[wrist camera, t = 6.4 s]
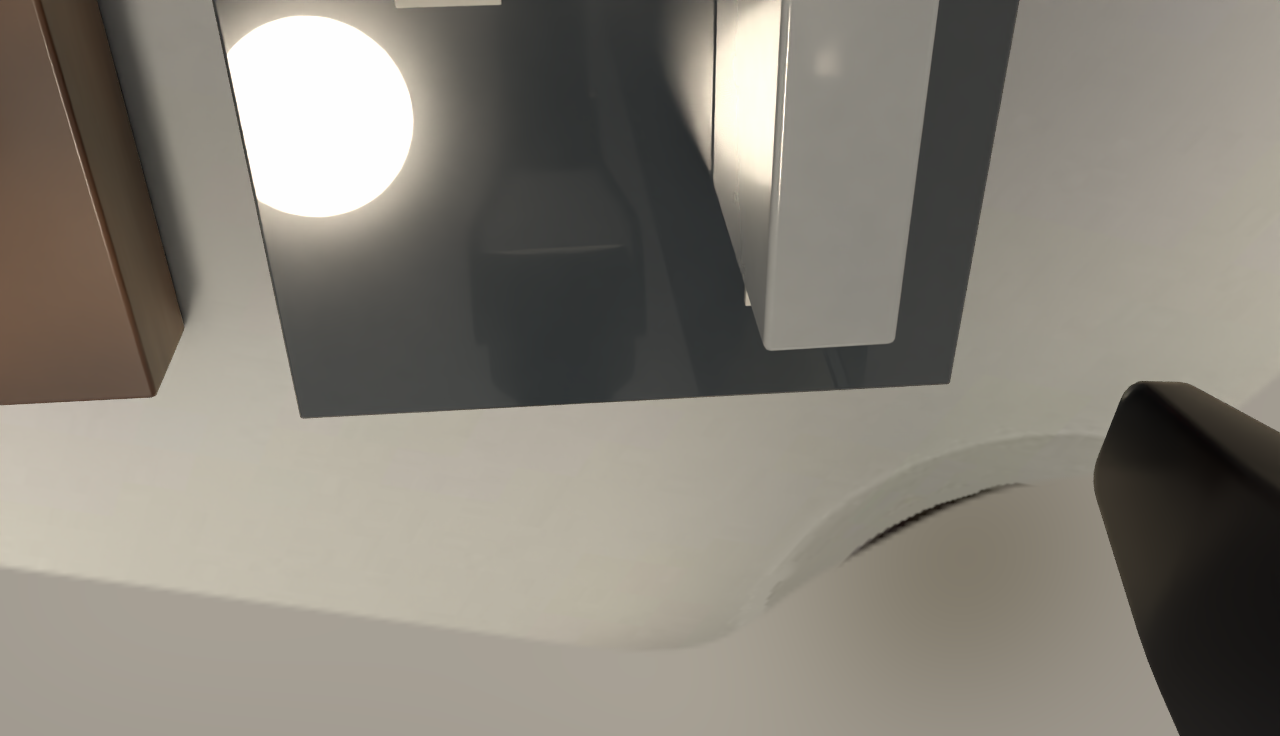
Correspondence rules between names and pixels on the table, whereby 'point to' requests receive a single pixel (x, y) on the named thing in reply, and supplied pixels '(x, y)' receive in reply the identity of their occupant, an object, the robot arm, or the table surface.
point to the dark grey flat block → (553, 203)
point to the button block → (74, 219)
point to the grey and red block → (821, 159)
